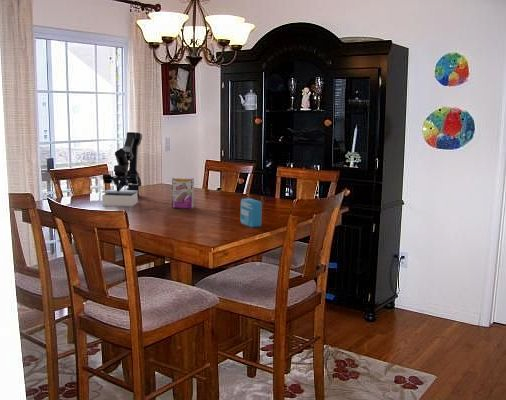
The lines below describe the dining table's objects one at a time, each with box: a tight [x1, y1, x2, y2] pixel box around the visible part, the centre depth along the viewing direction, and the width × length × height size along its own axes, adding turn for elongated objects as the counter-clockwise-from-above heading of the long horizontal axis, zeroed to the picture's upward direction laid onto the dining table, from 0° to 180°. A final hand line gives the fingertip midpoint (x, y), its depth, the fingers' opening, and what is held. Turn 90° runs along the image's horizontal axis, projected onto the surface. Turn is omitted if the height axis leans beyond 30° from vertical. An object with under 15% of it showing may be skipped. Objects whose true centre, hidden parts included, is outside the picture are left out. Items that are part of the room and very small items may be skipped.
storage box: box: [101, 192, 139, 208], centre depth 294 cm, size 14×16×6 cm
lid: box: [101, 189, 138, 194], centre depth 294 cm, size 14×16×1 cm
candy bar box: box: [171, 176, 195, 210], centre depth 287 cm, size 11×5×16 cm, turn 84°
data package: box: [239, 197, 263, 228], centre depth 247 cm, size 12×4×12 cm, turn 31°
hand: (117, 191), depth 289 cm, fingers closed, pressing on lid
